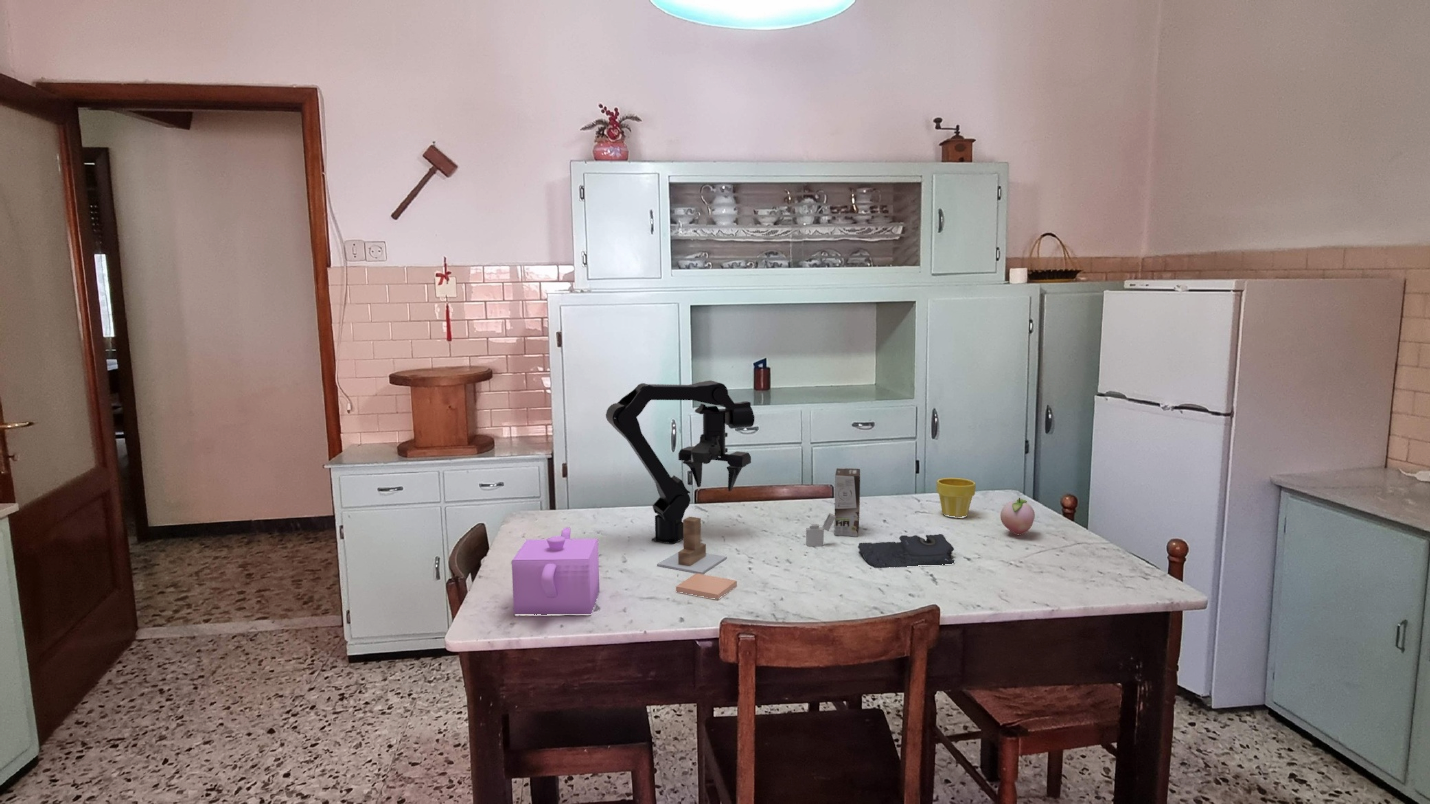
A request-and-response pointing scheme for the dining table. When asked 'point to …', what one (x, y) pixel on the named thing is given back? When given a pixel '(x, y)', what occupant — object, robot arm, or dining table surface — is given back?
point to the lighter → (818, 532)
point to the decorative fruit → (1017, 516)
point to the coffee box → (847, 502)
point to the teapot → (556, 575)
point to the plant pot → (955, 495)
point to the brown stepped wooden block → (691, 542)
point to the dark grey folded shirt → (908, 552)
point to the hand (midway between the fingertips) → (714, 488)
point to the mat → (697, 567)
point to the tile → (706, 586)
